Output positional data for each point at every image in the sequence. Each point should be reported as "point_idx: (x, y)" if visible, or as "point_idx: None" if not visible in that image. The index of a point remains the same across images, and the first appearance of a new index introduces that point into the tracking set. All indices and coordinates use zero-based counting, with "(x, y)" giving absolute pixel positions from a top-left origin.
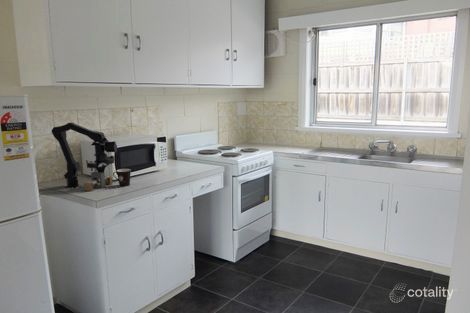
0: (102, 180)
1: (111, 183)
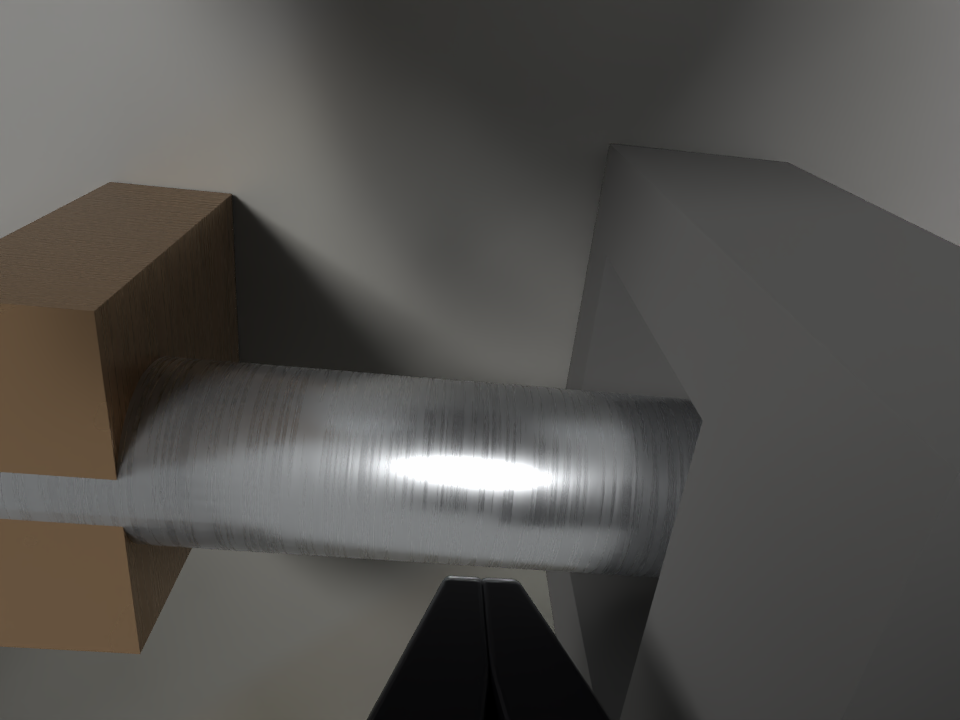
0: (893, 241)
1: (147, 195)
